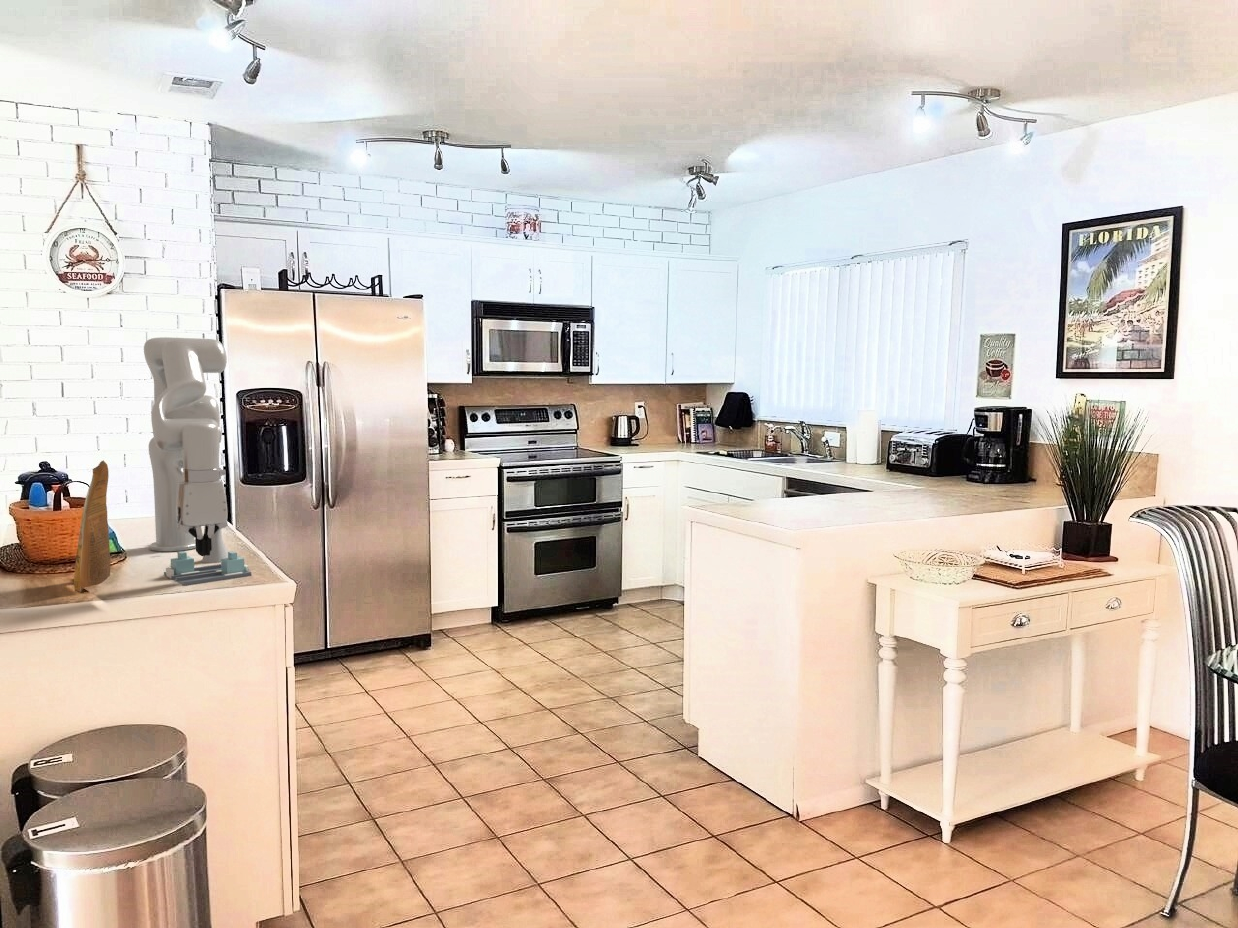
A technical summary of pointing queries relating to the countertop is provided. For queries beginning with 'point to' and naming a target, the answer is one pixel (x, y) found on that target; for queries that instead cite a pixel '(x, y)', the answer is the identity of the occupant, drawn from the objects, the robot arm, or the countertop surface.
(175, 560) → the tab
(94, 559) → the pancake mix bag
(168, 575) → the switch bank
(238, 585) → the countertop surface
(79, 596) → the countertop surface
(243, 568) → the tab
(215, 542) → the flask
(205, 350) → the robot arm
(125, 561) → the countertop surface
